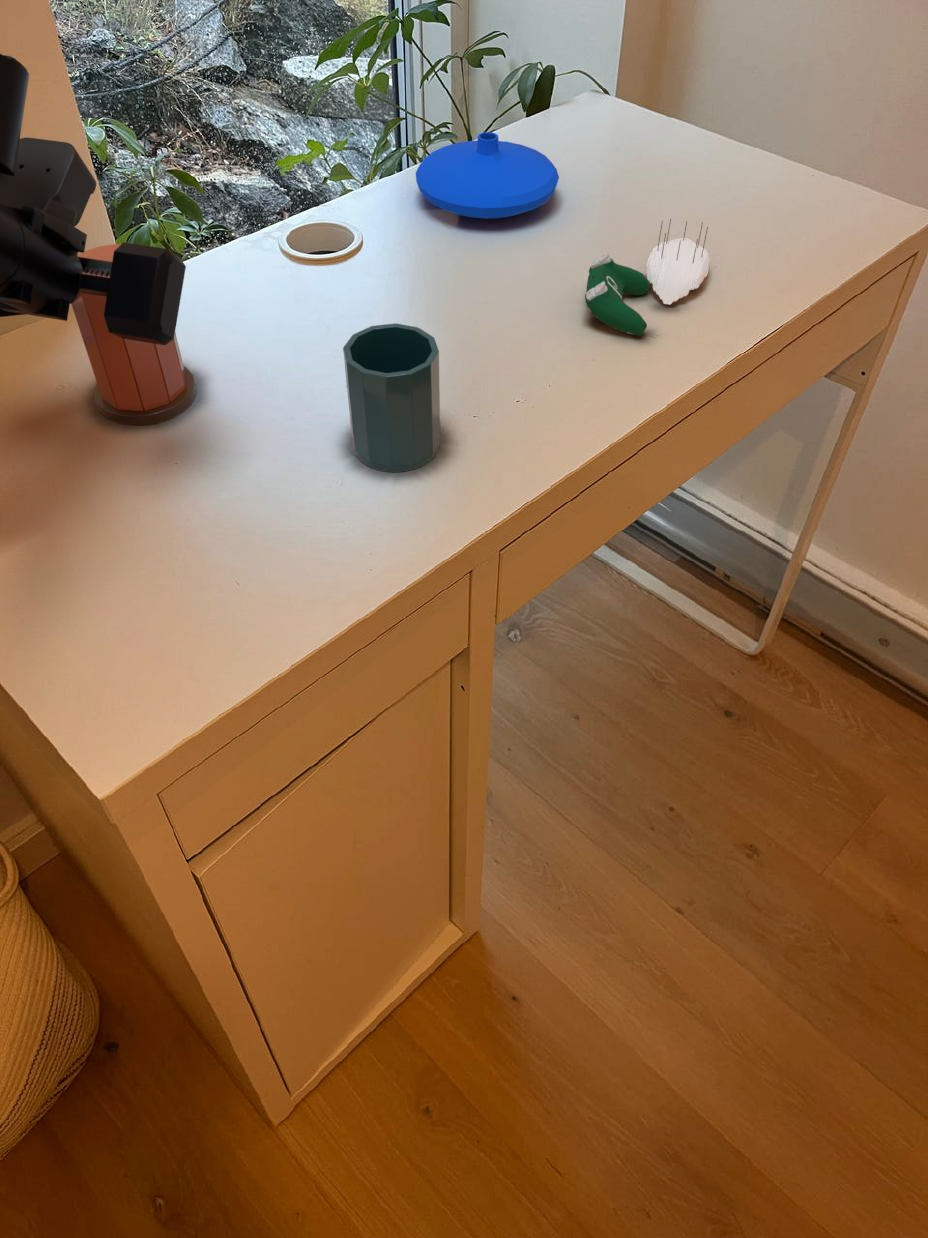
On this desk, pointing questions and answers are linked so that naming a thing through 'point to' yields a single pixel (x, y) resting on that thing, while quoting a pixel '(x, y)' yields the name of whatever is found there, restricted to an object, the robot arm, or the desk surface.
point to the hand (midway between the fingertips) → (115, 311)
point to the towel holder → (153, 414)
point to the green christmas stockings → (615, 294)
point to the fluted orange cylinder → (126, 355)
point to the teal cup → (393, 396)
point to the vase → (487, 178)
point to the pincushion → (677, 267)
